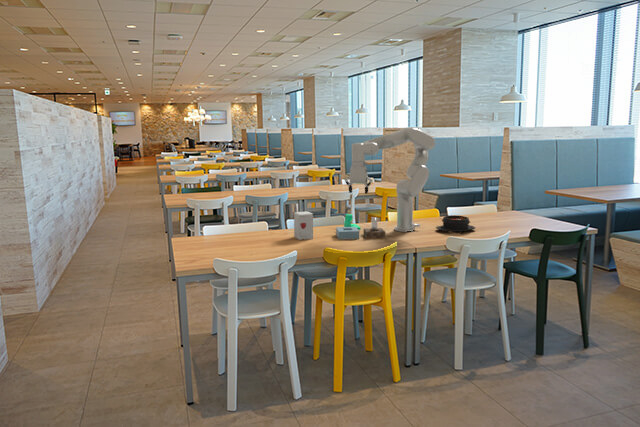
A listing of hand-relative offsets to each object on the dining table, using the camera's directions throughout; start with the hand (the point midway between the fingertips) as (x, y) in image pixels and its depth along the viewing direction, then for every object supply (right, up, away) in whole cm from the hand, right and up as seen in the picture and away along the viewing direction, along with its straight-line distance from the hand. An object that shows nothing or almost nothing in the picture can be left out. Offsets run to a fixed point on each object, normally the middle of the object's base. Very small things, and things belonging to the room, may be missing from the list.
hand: (358, 193), depth 289 cm
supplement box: (-32, -27, -4) cm, 42 cm away
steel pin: (+9, -26, 0) cm, 27 cm away
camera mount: (-2, -23, +18) cm, 29 cm away
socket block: (-7, -26, -1) cm, 27 cm away
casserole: (+61, -23, +13) cm, 67 cm away
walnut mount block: (+9, -26, 0) cm, 27 cm away
